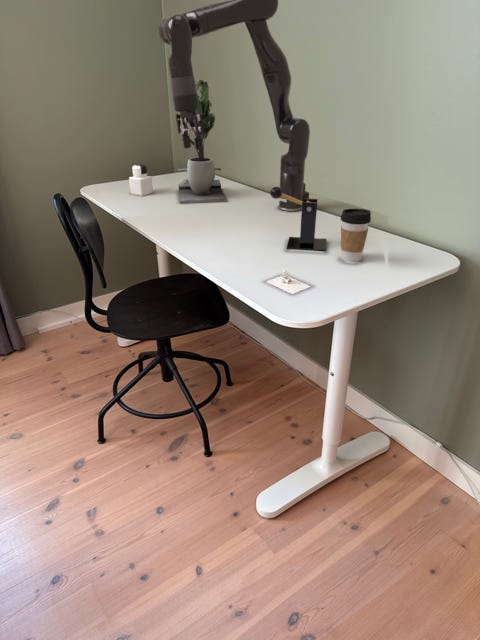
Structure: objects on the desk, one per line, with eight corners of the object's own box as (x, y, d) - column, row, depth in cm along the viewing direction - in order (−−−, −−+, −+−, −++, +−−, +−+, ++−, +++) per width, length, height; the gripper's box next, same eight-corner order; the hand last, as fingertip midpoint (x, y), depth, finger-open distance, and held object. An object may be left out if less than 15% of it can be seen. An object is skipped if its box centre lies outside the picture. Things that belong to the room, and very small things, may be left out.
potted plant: (178, 190, 214) (171, 78, 192) (220, 188, 217) (217, 78, 194) (180, 203, 195) (172, 81, 173) (225, 201, 198) (223, 80, 176)
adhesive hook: (286, 279, 130) (286, 268, 128) (293, 282, 128) (293, 271, 126) (278, 282, 128) (278, 271, 126) (285, 285, 126) (285, 274, 125)
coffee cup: (359, 267, 136) (366, 216, 129) (331, 262, 140) (336, 212, 133) (369, 258, 143) (376, 209, 135) (342, 253, 147) (347, 205, 139)
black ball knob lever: (267, 197, 144) (272, 186, 142) (269, 194, 147) (273, 183, 145) (311, 215, 144) (316, 204, 143) (311, 211, 148) (316, 201, 146)
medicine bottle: (142, 190, 214) (139, 162, 208) (153, 192, 211) (151, 164, 205) (130, 193, 209) (127, 165, 203) (141, 196, 206) (138, 167, 200)
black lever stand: (286, 251, 148) (288, 204, 141) (289, 240, 157) (291, 195, 149) (325, 253, 146) (329, 206, 139) (326, 242, 155) (330, 197, 148)
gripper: (206, 91, 140) (214, 148, 148) (185, 91, 151) (194, 145, 159) (183, 94, 137) (193, 153, 145) (164, 95, 148) (173, 149, 156)
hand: (193, 148), depth 152 cm, fingers open, 8 cm apart
